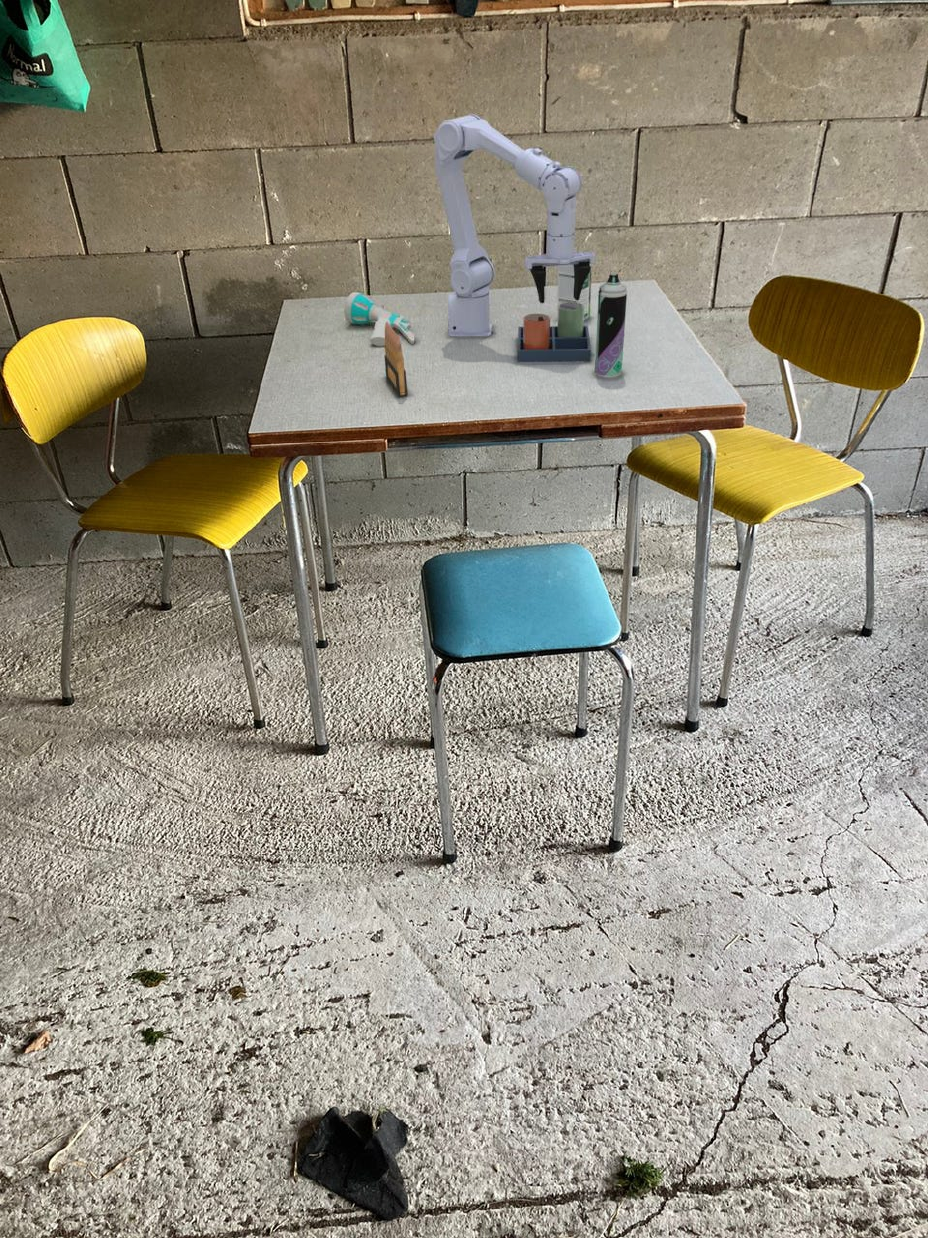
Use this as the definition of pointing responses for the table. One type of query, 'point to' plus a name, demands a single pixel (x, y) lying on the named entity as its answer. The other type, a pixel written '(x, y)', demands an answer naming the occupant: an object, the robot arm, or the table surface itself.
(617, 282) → the spray can
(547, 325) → the terracotta cup
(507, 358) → the table surface
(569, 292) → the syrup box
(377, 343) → the garden hose nozzle
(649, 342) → the table surface
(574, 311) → the sage cup
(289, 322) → the table surface
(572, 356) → the cup rack
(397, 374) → the ammunition clip
